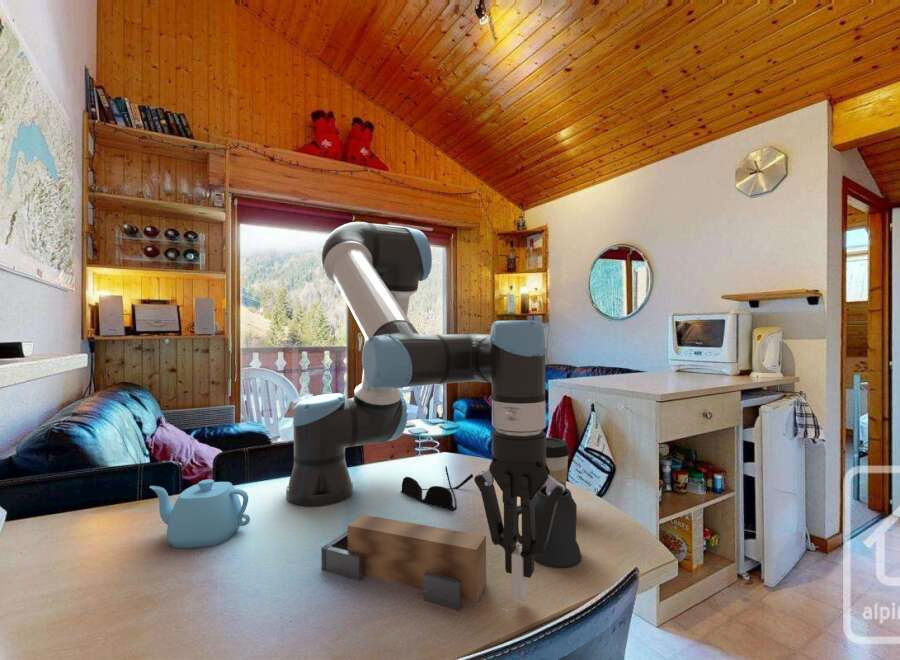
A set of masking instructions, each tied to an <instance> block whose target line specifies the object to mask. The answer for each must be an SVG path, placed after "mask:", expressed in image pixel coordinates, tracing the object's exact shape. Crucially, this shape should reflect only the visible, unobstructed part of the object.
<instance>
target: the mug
mask: <svg viewBox="0 0 900 660" xmlns="http://www.w3.org/2000/svg"><path fill="white" fill-rule="evenodd" d="M546 488H547V486H546V485H545V486H542V487H541V488H540V490H539V491H538V492H537V494H536V496H535V540H537V537H538V533H539V529H540V525H541V520H542V516H543V512H544V508H545V504H546V501H547V499H548V497H549V495H547V493H546ZM520 515H522V507H521V504H520V505H517V540H518V539H519V540H518V542H517V543H518V544H520V545H522V534H520V529H519V518H520ZM577 517H578V516H577V503H576V502H575V500H574V498H573V496H572V492H571V490H570V489H569V488H567V487H566V489H565V491H564V492H563V494H562V496H561V497H560V498H559V500H558V503H557V507H556V511H555V515H554V519H553V523H552V527H551V531H550V535H549V540H548V544H547V546H546V548H545V550H544V551H543V553H542V554H538V553H535V554H534V563H535V562H536V563H537V564H539V565H541V566H544V567H547V568H553V569H569V568H574V567H575V566H578V565H579V564H580V563H581V561H582V553H581V549H580V544H578V543H579V542H578V541H577V519H578V518H577Z"/></svg>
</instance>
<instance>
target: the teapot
mask: <svg viewBox="0 0 900 660" xmlns="http://www.w3.org/2000/svg"><path fill="white" fill-rule="evenodd" d="M149 489H151V490H152V491H154V492H155V494H156V495H157V498H158V502H159V503H158V507H159V509H158V510H159V517H160V518H161V521H162V522H163V523H164V524H165V525H167V527H166V528H167V529H166V539H167V542H169V544H170V545H171V546H172V547H173V548H176V549H177V548H178V549H195V548H196V549H197V548H203V547H204V548H205V547H212V546H217V545H219V544H221V543H224V542H225V541H226V540H228V539H230V537H233V535H235V533H236V532H237V531H238V529H239V527H245V526H247V525H249V523H250V522H251V518H250V515H249V514H247V513H245V511H246V509H247V506H248V503H249V494H248V492H246V491H245V490H243V489H241V488H235V487H234V485H233V483H232V482H229V481H215V480H214V479H211V478H210V479H203V480H201V481H198V483H197V484H193V485H191V486H190V487H188V488H186V489H184V490H182V492H181V493H179V495H178V497H177V499H176V501H175V502H174V505H173V504H172V503H171V500H170V498H169V494H168V492H167V490H166V489H165V488H164V487H161V486H157V485H150V486H149ZM239 496H241V497H242V502H241V500H240V497H239ZM241 503H242V504H241ZM243 519H244V520H243Z"/></svg>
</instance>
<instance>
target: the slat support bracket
mask: <svg viewBox="0 0 900 660" xmlns="http://www.w3.org/2000/svg"><path fill="white" fill-rule="evenodd" d="M320 550H321V559H320V560H321V562H320V563H321V571H323V572H327V573H331V574H334V575H337V576H341V577H343V578H348V579H350V580H354V581H357V582H360V581H361V580H362V579H363V578H364V575H363V555H362V554H358V553H354V552H350V551H348V530H346V531H345V532H343V533H342V534H339V536H337V537H335V538H334V539H332V540H331V541H329V542H327V543H326V544H325V545H323V546H322V547H321V549H320Z"/></svg>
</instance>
